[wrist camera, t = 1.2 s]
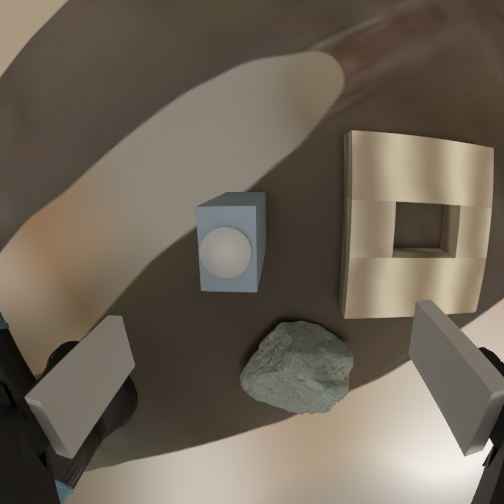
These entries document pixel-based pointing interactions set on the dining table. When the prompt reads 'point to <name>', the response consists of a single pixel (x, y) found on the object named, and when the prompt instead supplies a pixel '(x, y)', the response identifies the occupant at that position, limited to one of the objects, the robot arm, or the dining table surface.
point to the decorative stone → (299, 369)
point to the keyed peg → (232, 241)
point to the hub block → (383, 222)
